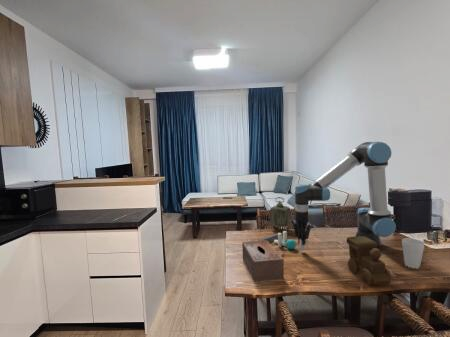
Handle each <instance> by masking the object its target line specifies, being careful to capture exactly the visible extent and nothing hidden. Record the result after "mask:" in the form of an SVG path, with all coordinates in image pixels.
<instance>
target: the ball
mask: <svg viewBox="0 0 450 337" xmlns="http://www.w3.org/2000/svg"><path fill="white" fill-rule="evenodd" d="M296 246H297V243H296V241H295V239H287V242H286V248H287V249H289V250H294V249H295V248H296Z"/></svg>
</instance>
